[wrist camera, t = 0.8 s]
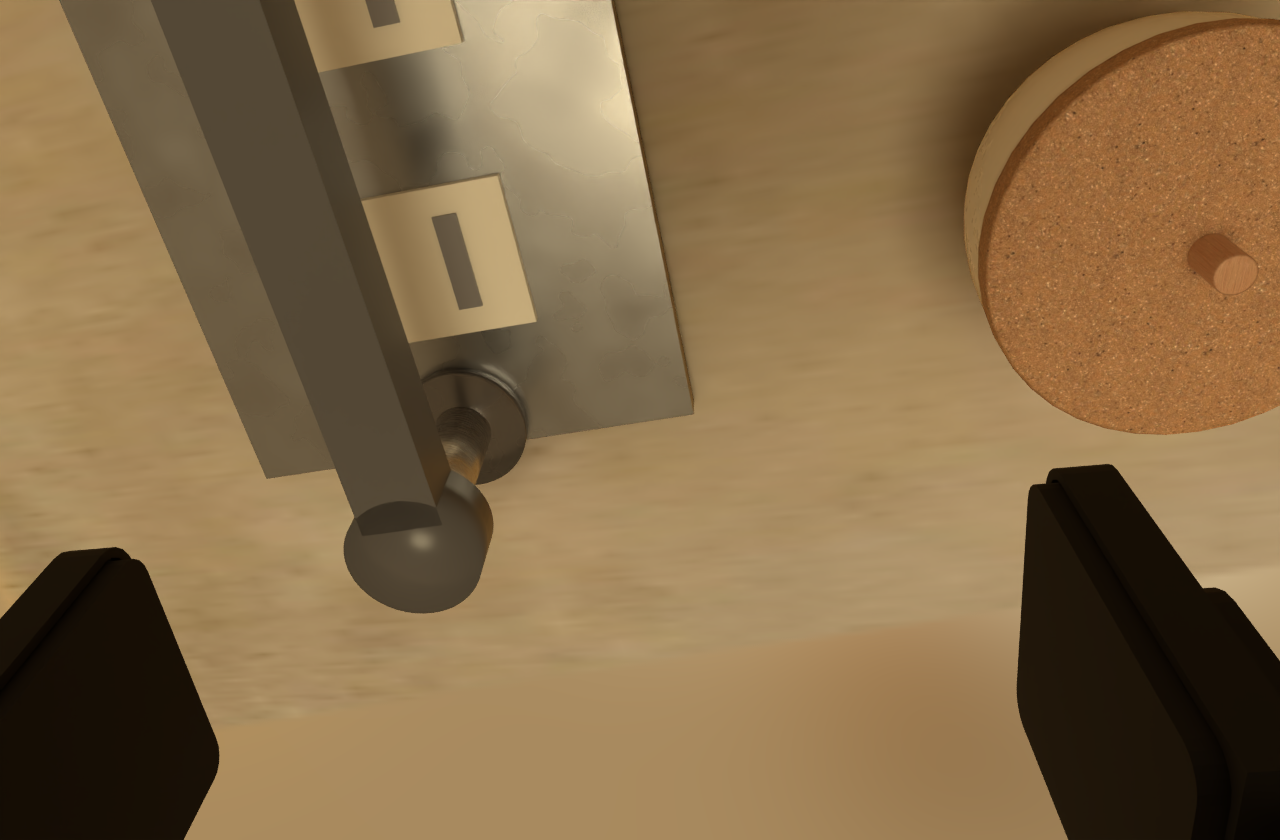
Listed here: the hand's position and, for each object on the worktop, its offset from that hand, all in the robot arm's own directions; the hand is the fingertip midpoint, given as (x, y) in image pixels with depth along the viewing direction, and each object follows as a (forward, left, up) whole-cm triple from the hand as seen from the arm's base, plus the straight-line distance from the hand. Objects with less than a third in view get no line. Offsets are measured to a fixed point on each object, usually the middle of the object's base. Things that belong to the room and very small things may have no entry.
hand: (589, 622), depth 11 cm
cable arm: (+1, -9, -18) cm, 20 cm away
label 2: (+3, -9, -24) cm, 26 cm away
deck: (0, -9, -25) cm, 26 cm away
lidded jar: (+4, +13, -25) cm, 29 cm away
